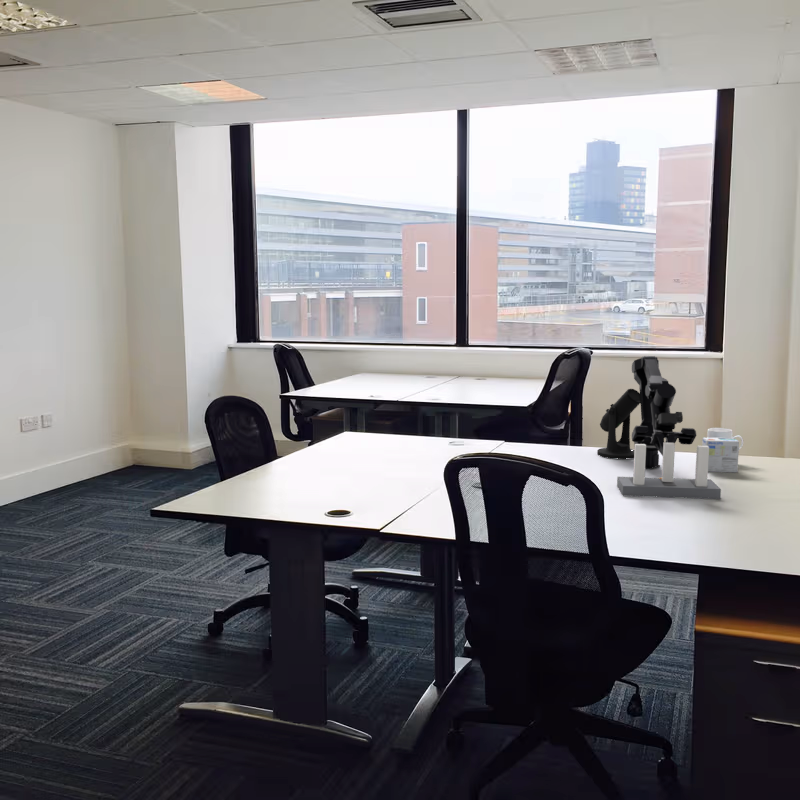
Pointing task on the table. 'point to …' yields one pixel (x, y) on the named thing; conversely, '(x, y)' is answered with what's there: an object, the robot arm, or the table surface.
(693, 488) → the three-peg stand
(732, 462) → the light bulb box
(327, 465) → the table surface
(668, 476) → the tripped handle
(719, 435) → the mug
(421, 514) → the table surface
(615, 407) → the microphone
